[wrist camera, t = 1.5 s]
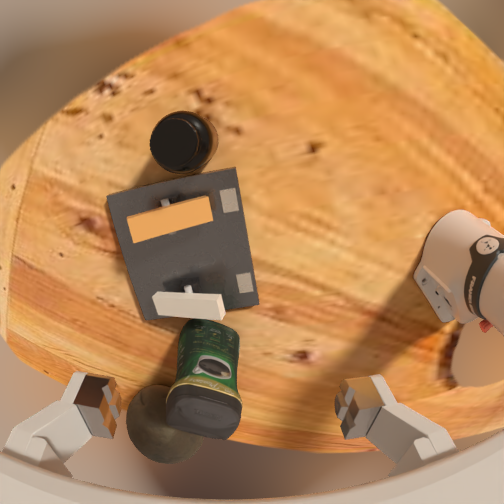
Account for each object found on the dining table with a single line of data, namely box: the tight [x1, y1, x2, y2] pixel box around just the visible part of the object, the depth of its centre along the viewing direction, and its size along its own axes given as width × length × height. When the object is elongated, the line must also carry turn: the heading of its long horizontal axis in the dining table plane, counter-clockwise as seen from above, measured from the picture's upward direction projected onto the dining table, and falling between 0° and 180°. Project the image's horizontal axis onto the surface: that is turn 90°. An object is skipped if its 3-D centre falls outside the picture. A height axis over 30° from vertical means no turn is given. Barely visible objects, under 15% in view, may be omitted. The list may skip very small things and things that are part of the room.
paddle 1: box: [127, 195, 213, 243], centre depth 36 cm, size 10×4×2 cm, turn 99°
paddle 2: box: [152, 285, 226, 320], centre depth 41 cm, size 10×4×2 cm, turn 99°
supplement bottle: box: [150, 111, 218, 174], centre depth 32 cm, size 7×7×12 cm
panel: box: [106, 167, 259, 320], centre depth 42 cm, size 18×20×3 cm
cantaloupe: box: [126, 385, 203, 464], centre depth 47 cm, size 14×14×15 cm
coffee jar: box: [166, 318, 242, 440], centre depth 41 cm, size 10×8×19 cm
